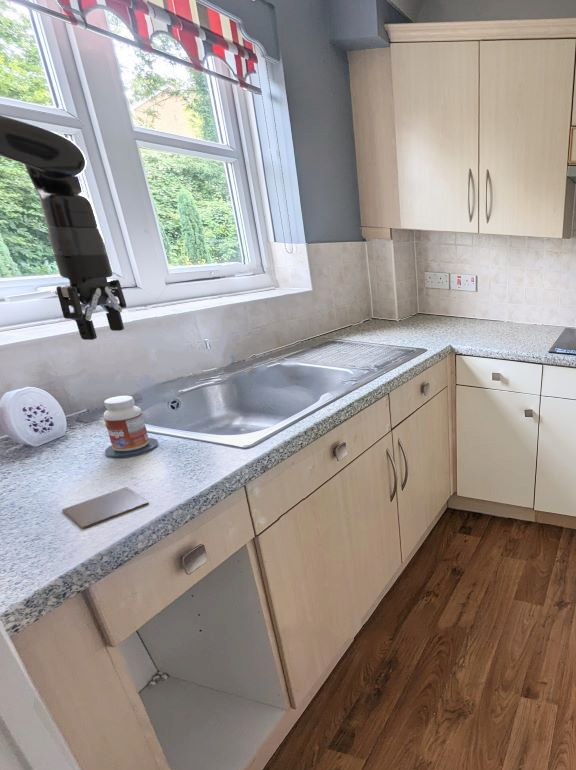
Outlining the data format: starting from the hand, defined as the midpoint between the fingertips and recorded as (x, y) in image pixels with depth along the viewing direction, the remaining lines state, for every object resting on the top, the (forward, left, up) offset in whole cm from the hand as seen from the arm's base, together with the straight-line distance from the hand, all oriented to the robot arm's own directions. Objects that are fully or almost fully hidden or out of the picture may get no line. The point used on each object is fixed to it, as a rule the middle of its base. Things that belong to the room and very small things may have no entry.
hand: (104, 334), depth 93 cm
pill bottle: (-1, -1, -25) cm, 25 cm away
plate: (-1, -1, -25) cm, 25 cm away
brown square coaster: (-13, -24, -25) cm, 37 cm away
